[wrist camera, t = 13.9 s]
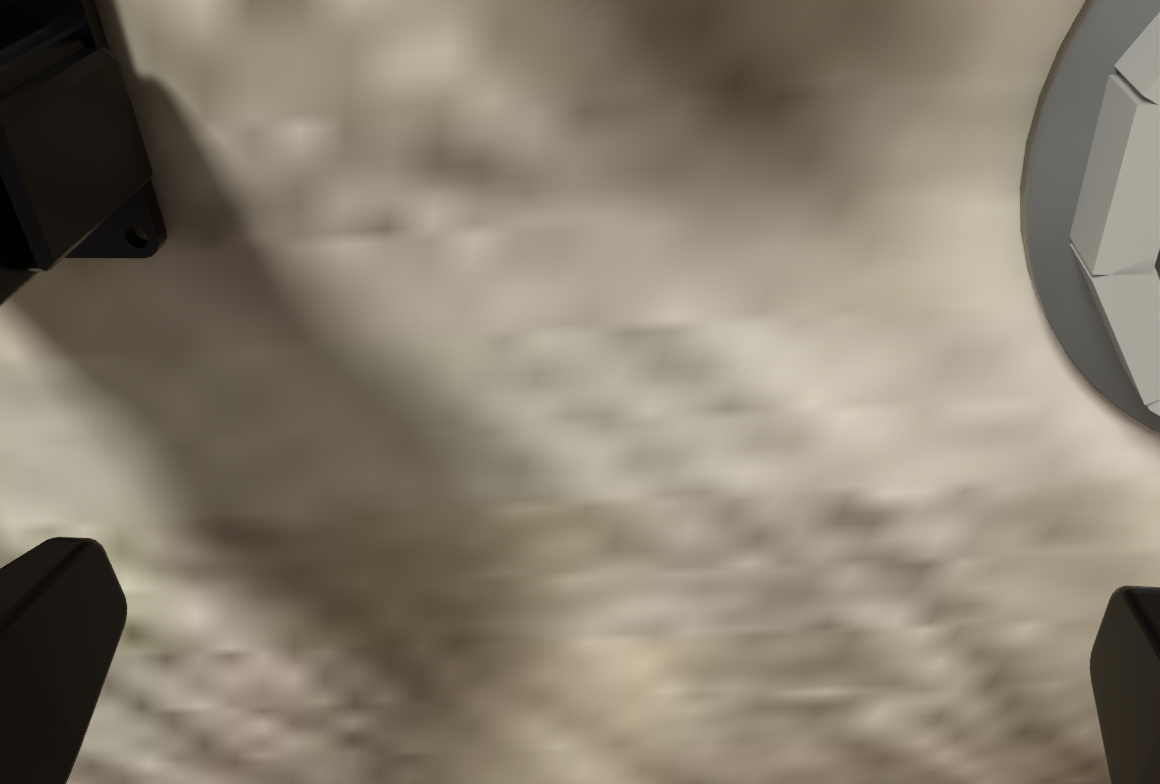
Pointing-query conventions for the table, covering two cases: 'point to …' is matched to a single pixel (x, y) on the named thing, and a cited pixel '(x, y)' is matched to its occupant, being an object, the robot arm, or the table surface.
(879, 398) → the table surface
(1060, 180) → the grey shallow dish
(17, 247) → the robot arm
